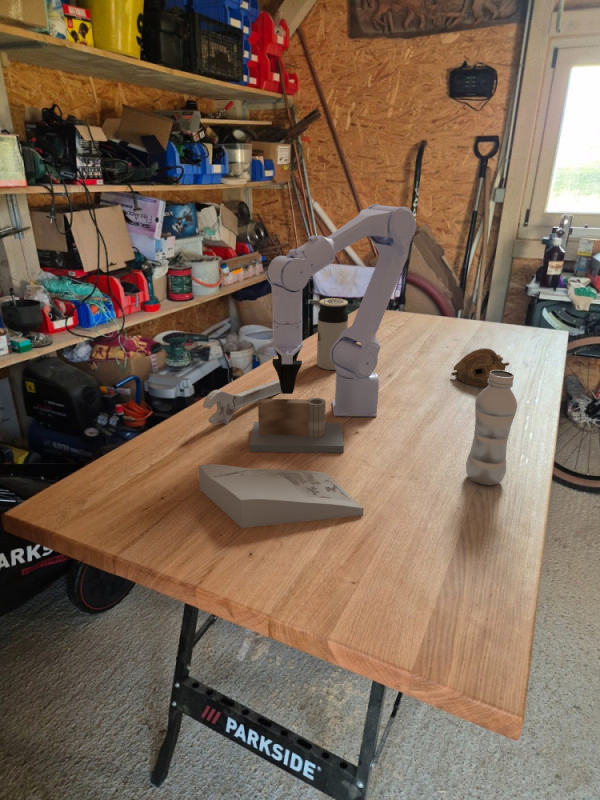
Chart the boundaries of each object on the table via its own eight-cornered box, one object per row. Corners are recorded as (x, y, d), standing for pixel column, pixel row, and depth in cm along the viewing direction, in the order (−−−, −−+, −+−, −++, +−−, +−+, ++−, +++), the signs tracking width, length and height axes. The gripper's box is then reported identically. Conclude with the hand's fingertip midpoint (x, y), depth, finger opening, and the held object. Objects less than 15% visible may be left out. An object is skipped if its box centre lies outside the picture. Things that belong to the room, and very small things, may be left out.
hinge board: (340, 429, 111) (341, 409, 109) (343, 452, 101) (344, 431, 100) (254, 428, 111) (253, 408, 109) (249, 451, 101) (249, 430, 100)
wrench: (288, 400, 132) (208, 433, 107) (282, 398, 133) (202, 431, 108) (290, 368, 129) (209, 395, 105) (284, 367, 130) (202, 393, 106)
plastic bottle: (498, 494, 89) (520, 384, 81) (458, 482, 92) (475, 375, 84) (507, 477, 94) (528, 371, 86) (469, 466, 97) (485, 364, 89)
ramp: (368, 488, 91) (370, 461, 89) (359, 547, 77) (361, 516, 75) (213, 470, 96) (212, 443, 94) (178, 521, 82) (175, 492, 80)
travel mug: (346, 362, 149) (350, 298, 142) (344, 371, 142) (347, 305, 135) (318, 360, 150) (320, 297, 143) (314, 369, 143) (316, 304, 136)
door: (258, 437, 104) (257, 404, 101) (259, 428, 107) (259, 397, 104) (324, 437, 104) (325, 405, 101) (324, 429, 107) (325, 397, 104)
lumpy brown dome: (441, 358, 134) (501, 347, 126) (465, 334, 153) (519, 323, 145) (451, 395, 136) (511, 386, 128) (474, 367, 155) (528, 357, 147)
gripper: (268, 311, 109) (269, 372, 114) (264, 331, 95) (266, 400, 101) (302, 311, 109) (301, 373, 114) (303, 331, 96) (303, 400, 101)
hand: (287, 385), depth 108 cm, fingers open, 7 cm apart
